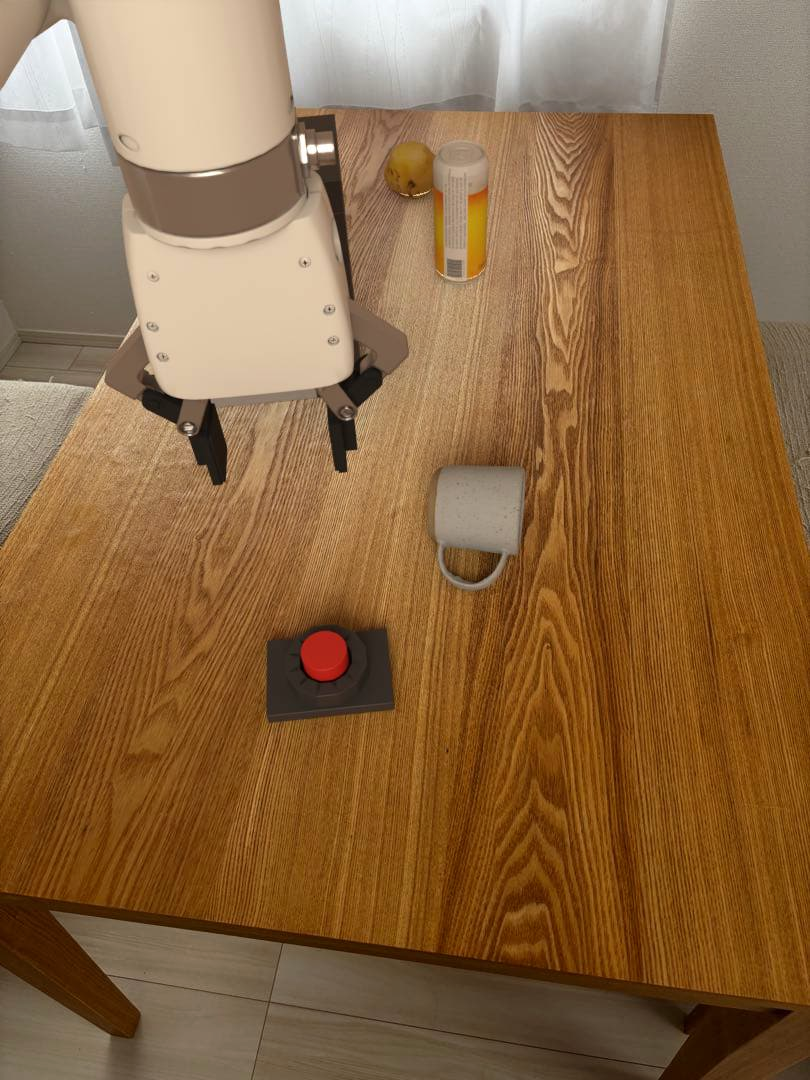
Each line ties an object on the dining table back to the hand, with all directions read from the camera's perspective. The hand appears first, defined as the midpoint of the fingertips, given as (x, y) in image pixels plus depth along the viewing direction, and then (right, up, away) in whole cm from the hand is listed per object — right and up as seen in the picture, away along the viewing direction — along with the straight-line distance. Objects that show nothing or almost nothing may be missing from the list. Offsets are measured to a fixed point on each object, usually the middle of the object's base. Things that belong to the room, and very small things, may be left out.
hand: (280, 459), depth 51 cm
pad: (+1, -16, +20) cm, 26 cm away
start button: (+1, -14, +18) cm, 23 cm away
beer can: (+14, +28, +54) cm, 63 cm away
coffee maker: (-7, +15, +45) cm, 48 cm away
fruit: (+8, +42, +66) cm, 79 cm away
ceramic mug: (+14, -5, +28) cm, 32 cm away
